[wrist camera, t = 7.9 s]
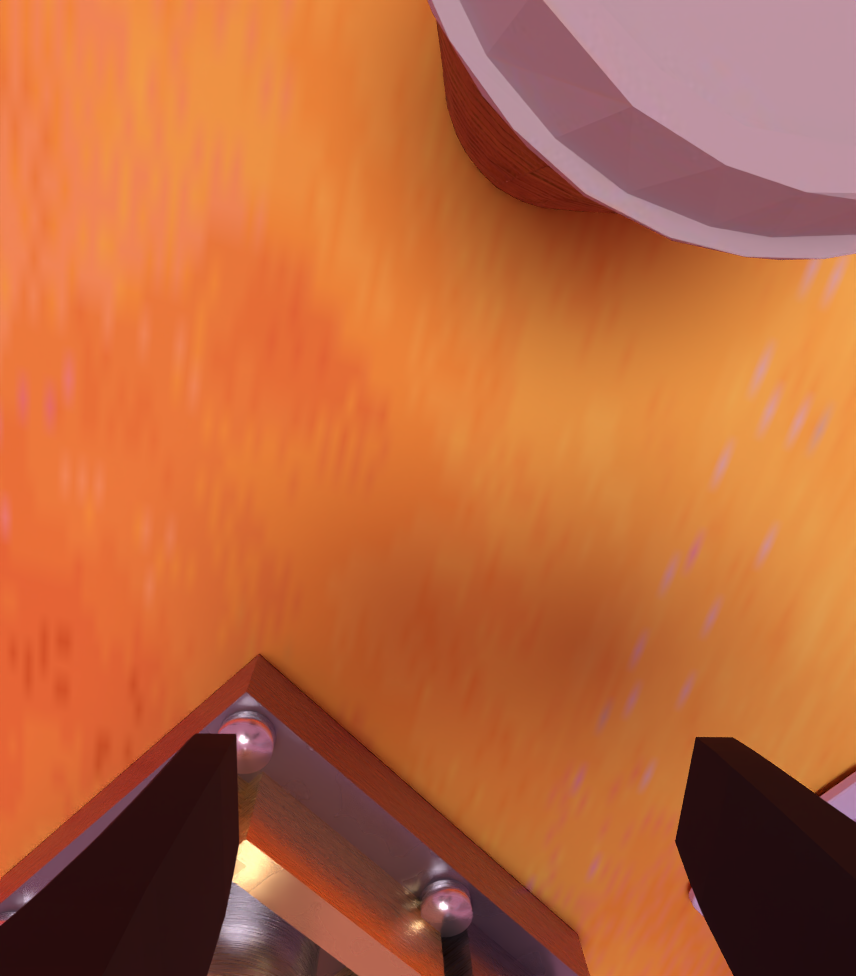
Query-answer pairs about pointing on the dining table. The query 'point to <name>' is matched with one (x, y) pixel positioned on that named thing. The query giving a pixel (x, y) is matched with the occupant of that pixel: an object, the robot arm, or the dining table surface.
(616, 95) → the disposable coffee cup
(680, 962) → the dining table surface
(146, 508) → the dining table surface
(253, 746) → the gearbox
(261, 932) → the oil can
